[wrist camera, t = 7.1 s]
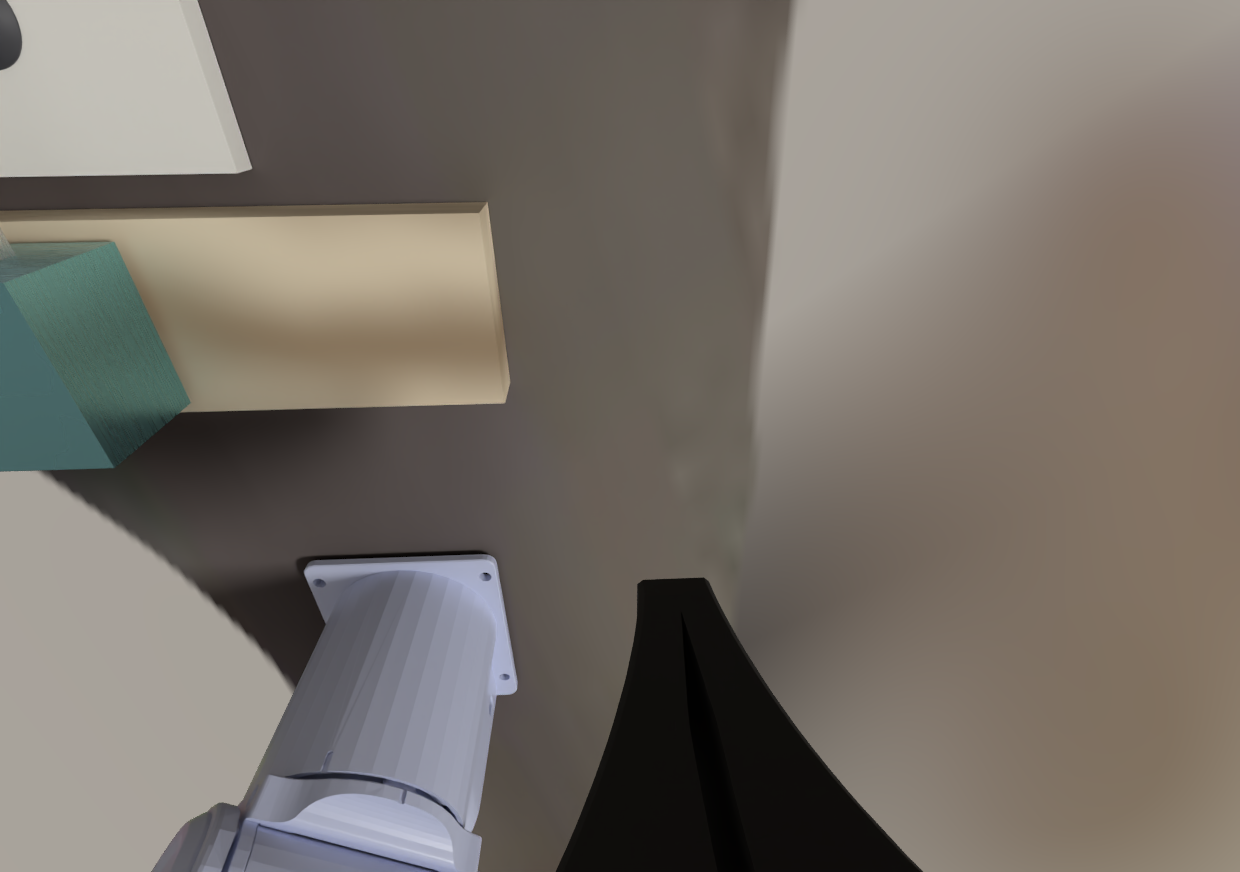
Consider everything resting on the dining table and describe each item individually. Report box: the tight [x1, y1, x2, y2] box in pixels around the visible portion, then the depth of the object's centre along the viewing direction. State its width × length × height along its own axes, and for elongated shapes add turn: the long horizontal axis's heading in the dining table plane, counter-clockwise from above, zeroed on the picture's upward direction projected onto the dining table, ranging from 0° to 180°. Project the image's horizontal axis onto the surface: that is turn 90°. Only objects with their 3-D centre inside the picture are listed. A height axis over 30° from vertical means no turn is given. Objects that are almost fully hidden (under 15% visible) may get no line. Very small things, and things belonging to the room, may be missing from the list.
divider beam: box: [0, 202, 510, 412], centre depth 15 cm, size 11×24×5 cm, turn 90°
